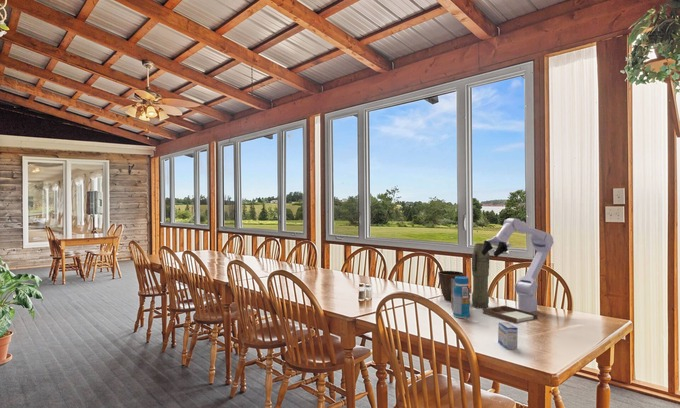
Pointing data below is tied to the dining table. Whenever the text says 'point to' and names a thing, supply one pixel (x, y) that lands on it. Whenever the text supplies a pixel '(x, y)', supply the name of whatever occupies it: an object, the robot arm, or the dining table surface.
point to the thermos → (480, 277)
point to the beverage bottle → (461, 297)
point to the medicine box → (507, 335)
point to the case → (500, 310)
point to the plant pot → (447, 282)
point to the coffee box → (452, 291)
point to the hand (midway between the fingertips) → (488, 254)
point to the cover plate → (519, 316)
